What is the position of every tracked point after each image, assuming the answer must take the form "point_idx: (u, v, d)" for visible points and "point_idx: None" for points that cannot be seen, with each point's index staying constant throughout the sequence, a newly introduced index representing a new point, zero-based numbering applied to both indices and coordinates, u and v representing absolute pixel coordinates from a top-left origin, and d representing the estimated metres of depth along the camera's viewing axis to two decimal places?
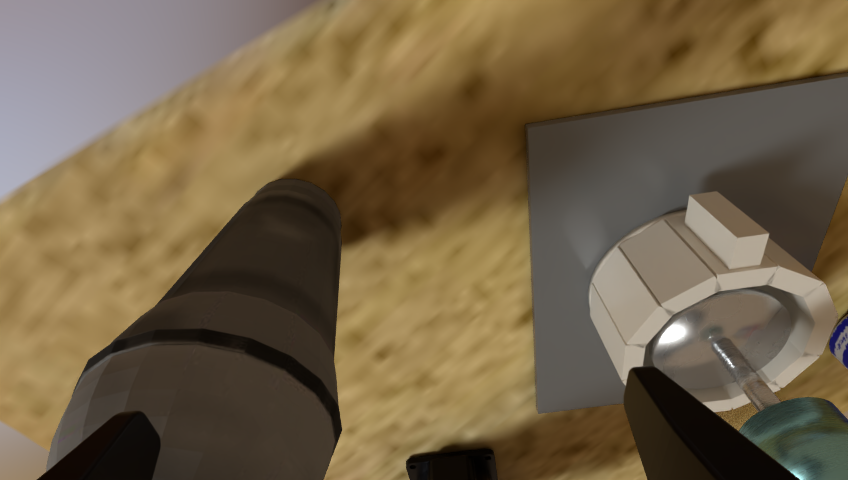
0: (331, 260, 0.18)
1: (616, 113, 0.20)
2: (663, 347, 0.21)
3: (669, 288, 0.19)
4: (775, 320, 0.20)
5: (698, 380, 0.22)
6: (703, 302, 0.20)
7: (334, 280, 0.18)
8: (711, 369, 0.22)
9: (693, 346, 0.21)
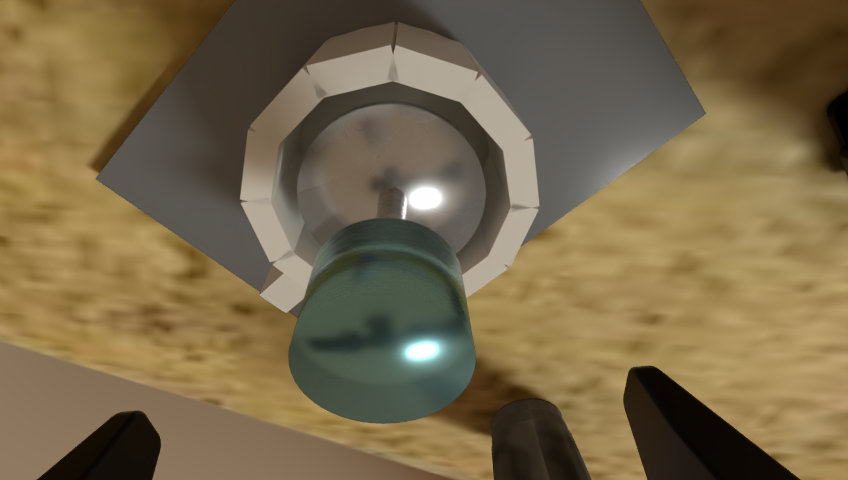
0: None
1: None
2: None
3: None
4: (317, 179, 0.14)
5: (461, 168, 0.14)
6: None
7: None
8: (433, 172, 0.14)
9: None
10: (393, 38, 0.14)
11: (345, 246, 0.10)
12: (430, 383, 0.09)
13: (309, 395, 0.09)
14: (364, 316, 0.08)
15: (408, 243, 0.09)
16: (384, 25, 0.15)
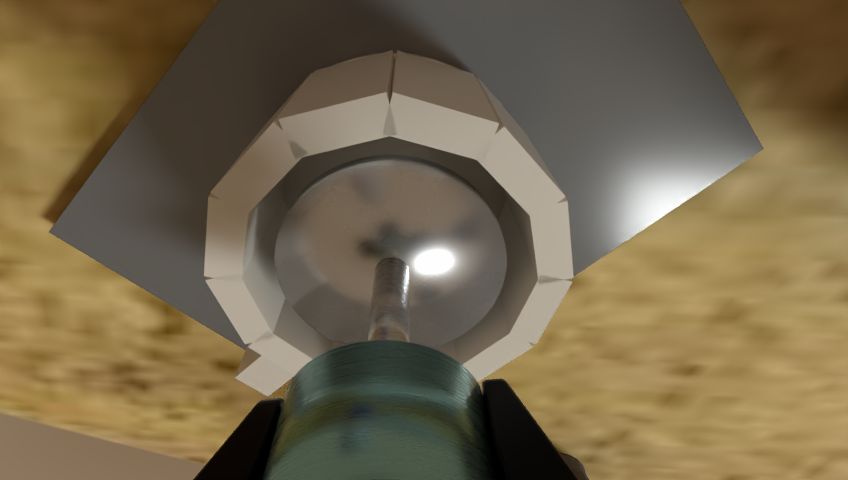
0: None
1: None
2: (449, 332, 0.13)
3: None
4: (299, 250, 0.12)
5: (476, 234, 0.11)
6: None
7: None
8: (441, 239, 0.12)
9: (422, 302, 0.13)
10: (390, 76, 0.11)
11: (322, 391, 0.07)
12: None
13: None
14: None
15: (411, 390, 0.07)
16: (380, 55, 0.13)
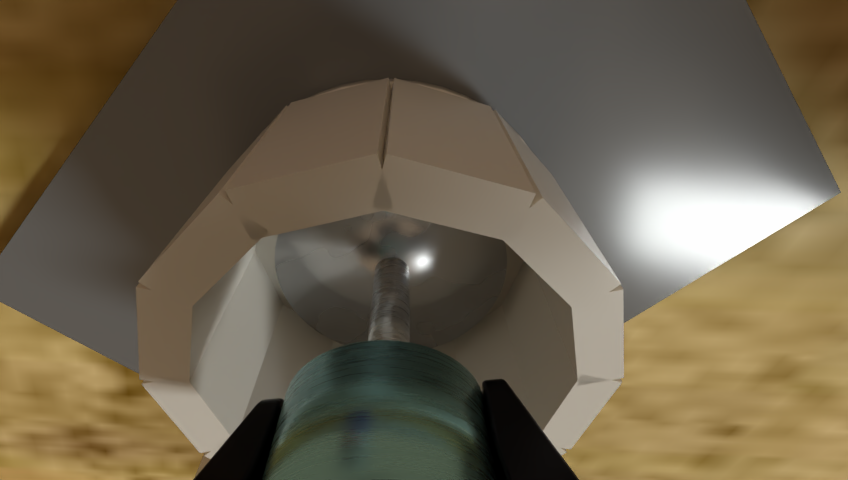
0: None
1: None
2: (449, 332, 0.13)
3: None
4: (299, 250, 0.12)
5: (476, 234, 0.11)
6: None
7: None
8: (441, 239, 0.12)
9: (422, 302, 0.13)
10: (384, 120, 0.08)
11: (322, 392, 0.07)
12: None
13: None
14: None
15: (410, 390, 0.07)
16: (372, 85, 0.10)
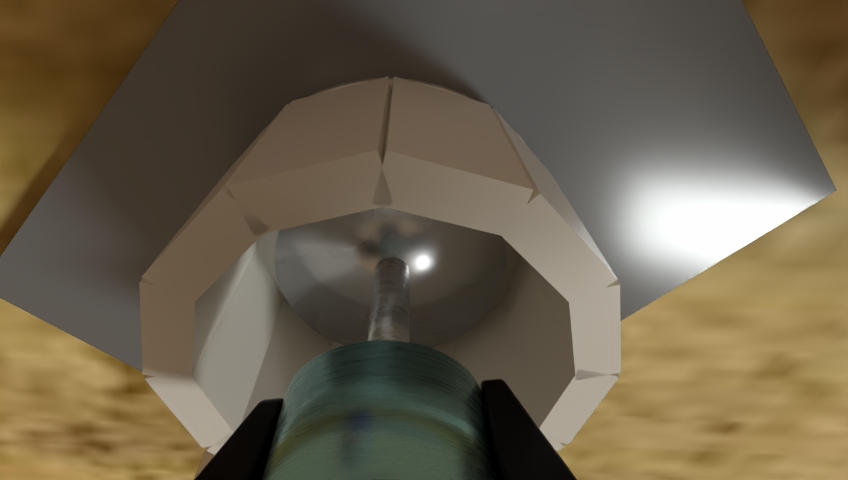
0: None
1: None
2: (449, 331, 0.13)
3: None
4: (299, 250, 0.12)
5: (476, 234, 0.11)
6: None
7: None
8: (441, 239, 0.12)
9: (421, 302, 0.13)
10: (384, 118, 0.08)
11: (322, 392, 0.07)
12: None
13: None
14: None
15: (411, 390, 0.07)
16: (372, 83, 0.10)
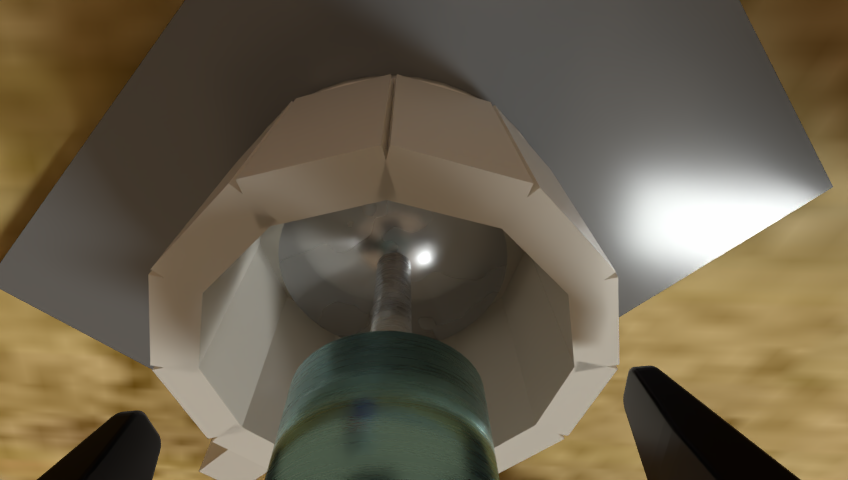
0: None
1: None
2: (450, 327, 0.13)
3: None
4: (302, 245, 0.12)
5: (477, 230, 0.12)
6: None
7: None
8: (443, 234, 0.12)
9: (423, 297, 0.13)
10: (388, 114, 0.08)
11: (328, 380, 0.07)
12: None
13: None
14: None
15: (413, 378, 0.07)
16: (375, 81, 0.10)
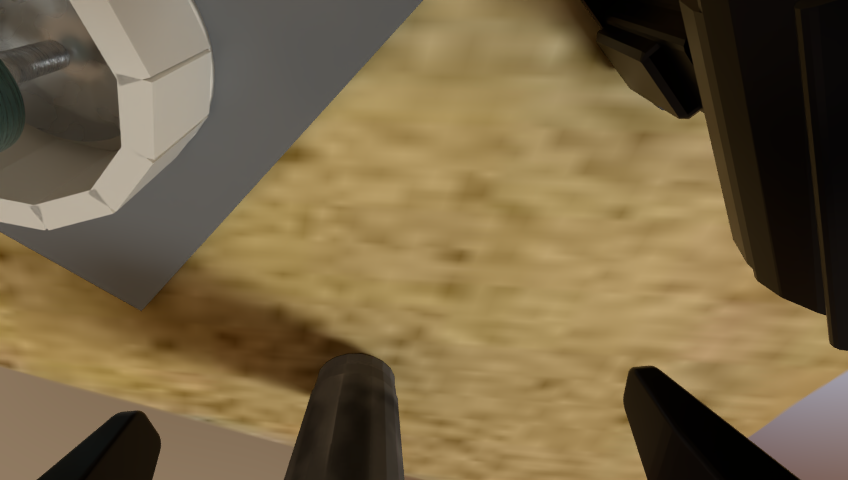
0: (298, 440, 0.22)
1: (64, 266, 0.22)
2: None
3: None
4: None
5: None
6: (58, 135, 0.17)
7: (298, 451, 0.21)
8: None
9: (91, 86, 0.16)
10: None
11: None
12: None
13: None
14: None
15: None
16: None
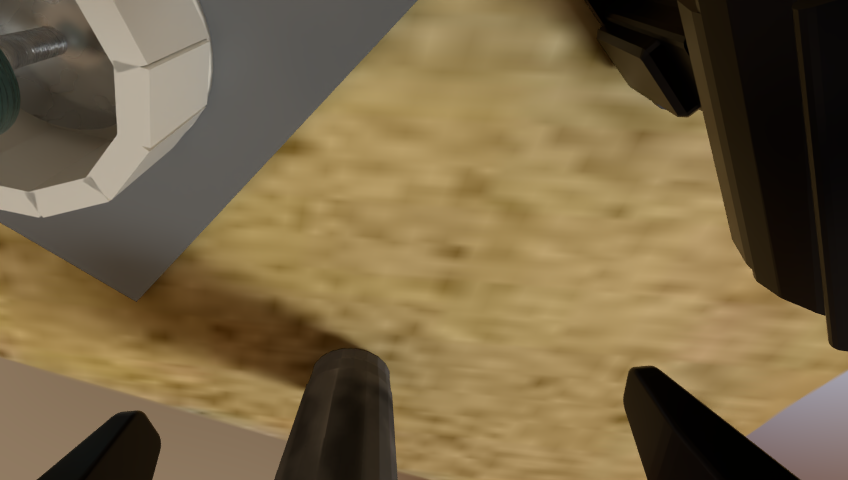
0: (292, 433, 0.22)
1: (59, 255, 0.21)
2: None
3: None
4: None
5: None
6: (54, 122, 0.17)
7: (291, 444, 0.21)
8: (79, 7, 0.15)
9: (88, 74, 0.16)
10: None
11: None
12: None
13: None
14: None
15: None
16: None
